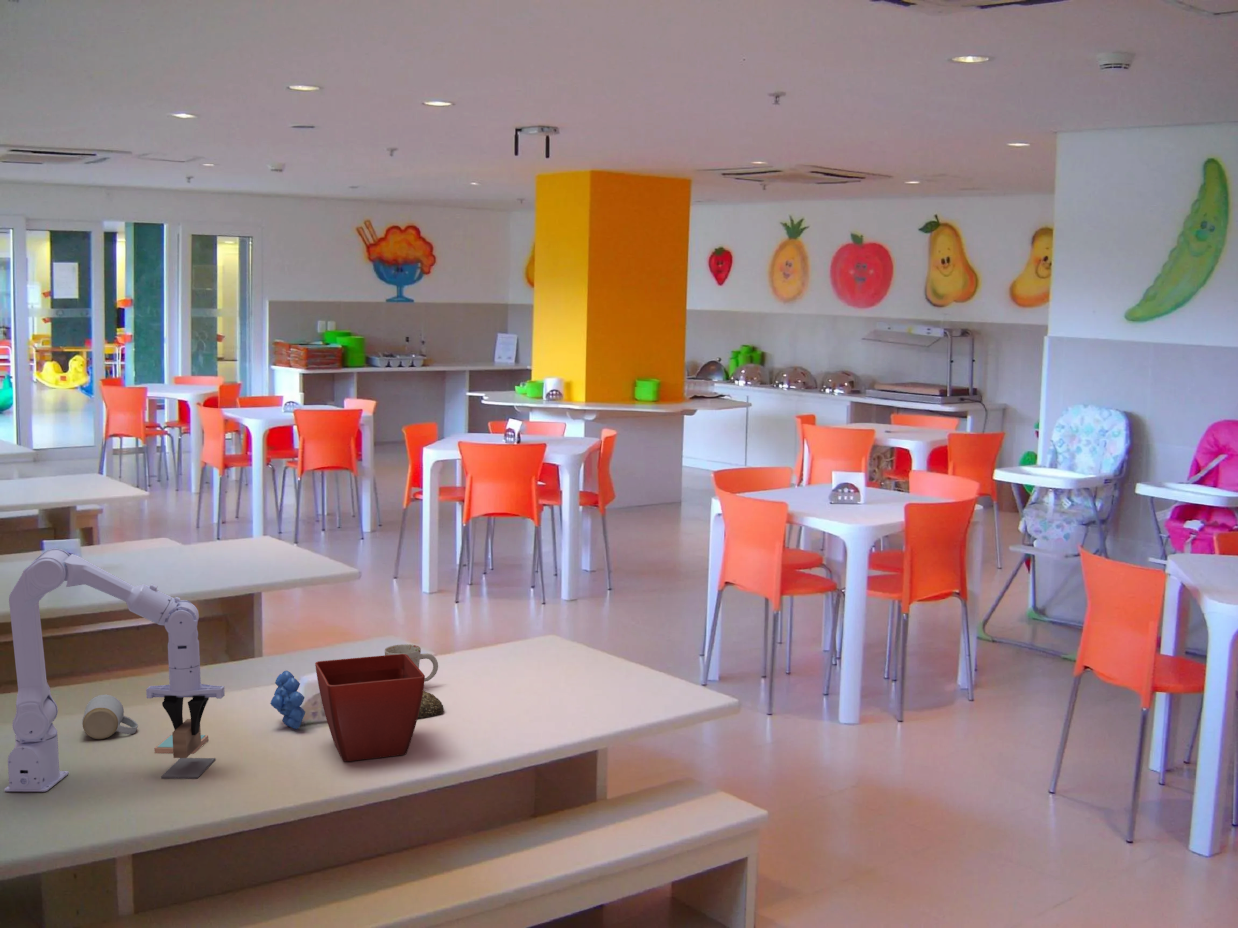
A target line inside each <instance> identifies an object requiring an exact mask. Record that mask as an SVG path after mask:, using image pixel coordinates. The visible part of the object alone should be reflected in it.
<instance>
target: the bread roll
mask: <svg viewBox="0 0 1238 928" xmlns="http://www.w3.org/2000/svg"><path fill="white" fill-rule="evenodd" d="M444 711H445V709H444V704H443V703H442V701H441V700H440V699H439V698H438V697H436V696H435V695H434V694H433V693H431V692H428V691H424V690H423V695H422V701H421V706H420V710H419V715H418V718H417V720H419V719H423V718H430V717H435V716H440V715H442V714H444Z"/></svg>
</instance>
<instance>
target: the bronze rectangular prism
mask: <svg viewBox="0 0 1238 928" xmlns="http://www.w3.org/2000/svg"><path fill="white" fill-rule="evenodd" d="M171 735H172V736H173V753H172V754H173V759H180V758H189V756H190V755H192V754H191V753H192V752H193V751H194V750H195V749H196V748H197V747H198V746H199V745H200V744H201V735H202V733H201V725H200V726H199V732H198V733H197V734H196V735H192V732H191V718H186V720H184V721H183V723H182V724H181V725H180V726H179V727H178V728H177V729H176V730H174V731H172V733H171Z"/></svg>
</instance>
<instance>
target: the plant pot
mask: <svg viewBox="0 0 1238 928" xmlns="http://www.w3.org/2000/svg"><path fill="white" fill-rule="evenodd" d="M314 666H315V672H316V679H317V684H318V690H319V694H320V700H321V704H322V708H323V712H324V716H325V718H326V722H327V726H328V728H329V731H330V735H331V738H332V741H333V743H334V745H335V747H336V749H337V752H338V753H339V755H340V757H341V760H342V761H344V762H351V761H360V760H370V759H377V758H379V759H380V758H386V757H387V758H388V757H394V756H395V757H396V756H403V755H406V754H407V752H408V751H409V749H410V748H409V747H410V745H411V741H412V738H413V735H414V732H415V728H416V726H417V721H418V719H419V718H418V715H419V710H420V706H421V701H422V695H423V691H424V687H425V682H424V681H425V678H426V675H425V674H424V673H423V671H422V670H421V669H420V667H419V668H418V667H417V666H416V665H415V663H414V662H413V661H412V660H411V659H410V658H409V656H408V655H406V654H396V655H385V654H384V655H375V656H363V657H353V658H352V657H351V658H339V659H329V660H321V661H320V660H319V661H315V663H314ZM417 718H418V719H417Z"/></svg>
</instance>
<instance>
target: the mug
mask: <svg viewBox="0 0 1238 928" xmlns="http://www.w3.org/2000/svg"><path fill="white" fill-rule="evenodd" d="M421 649H422V648H421V647H420V646H419V645H415V644H407V643H403V644H394V645H390V646H387V647H386V648H385V649H384V655H396V654H406V655H408V656H409V658H410V659H411V660H412V661H413V662H414V663H415V665H416V666H417V667H418V668H419V669H420V660H424V659H425V660H426V659H427V660H429V661H430V662H431V663H432V670H431V672H430V673H429V675H428V676H427V677H425V681H424V683H425V682H428V681H431V680H432V679H433V678H434V677H435V676H436V675H437V673H438V670H439V663H438V660H437V658H436V657H435V656H434V655H433V654H432V653H421V651H422V650H421Z"/></svg>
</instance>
